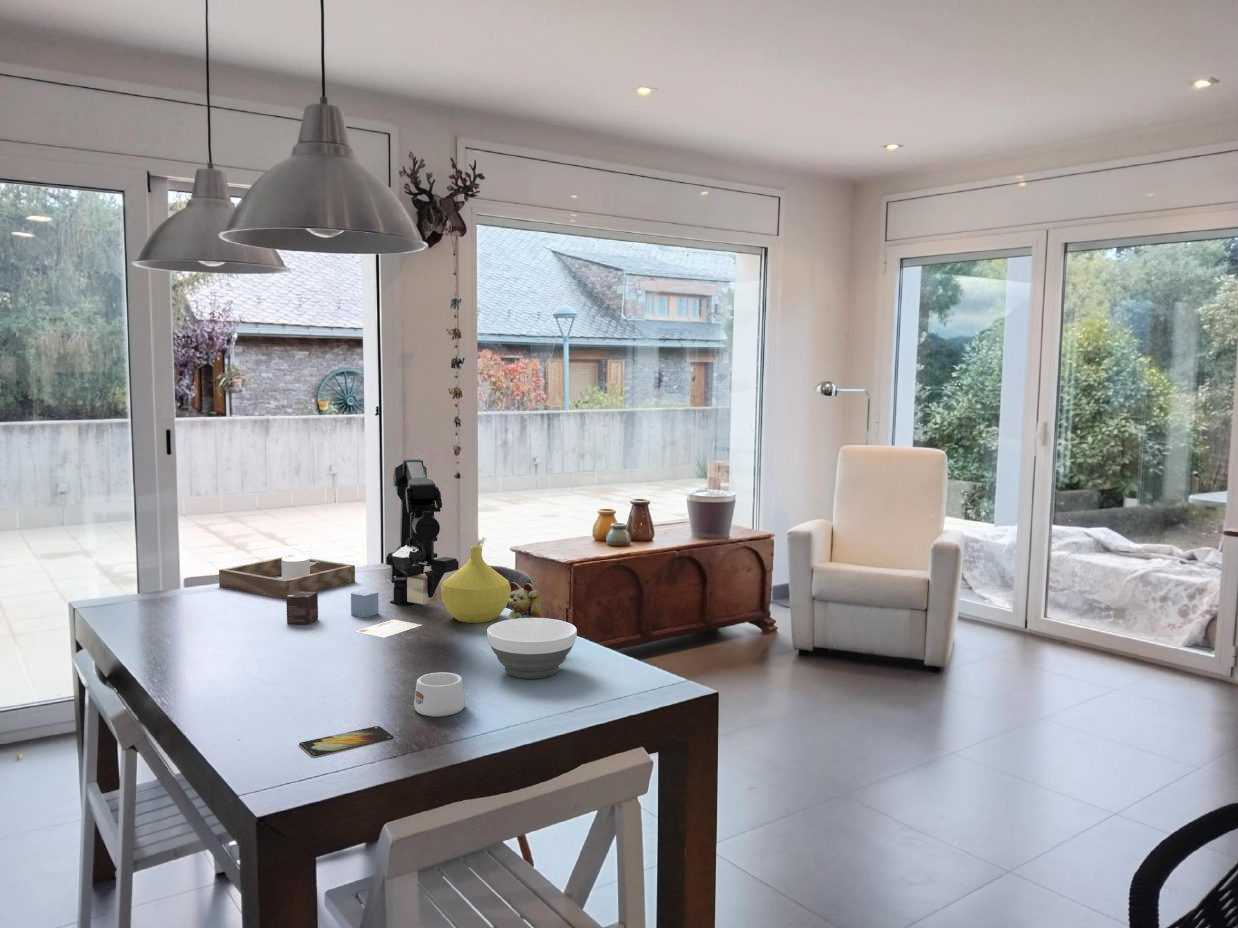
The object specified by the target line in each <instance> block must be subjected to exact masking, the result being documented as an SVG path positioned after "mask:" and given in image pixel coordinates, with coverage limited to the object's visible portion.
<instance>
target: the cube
mask: <svg viewBox="0 0 1238 928" xmlns="http://www.w3.org/2000/svg"><path fill="white" fill-rule="evenodd" d="M379 612H380V611H379V591H372V590H368V589H363V590H359V591H356V592H351V593H350V615H351V616H354V617H361V618H368V617H371V616H375V615H378V614H379Z"/></svg>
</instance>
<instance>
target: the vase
mask: <svg viewBox="0 0 1238 928" xmlns="http://www.w3.org/2000/svg"><path fill="white" fill-rule="evenodd" d="M482 552H483V549H482V546H479V545H477V546H475V545H474V546H470V555H469V556H470V557H469V560H467V562H466V563H465V564H464V565H463V566H462V567H461V568H459V570H456V571H455V572H454V573H453V574H451V575H450V576H449V577H447V578H446V579H444V581H442V583H441V586H440V596H441V600H442V602H443V605H444V608H445V610H446V611H448V613H449V615H450V616H451V617H453V618H454V619H456V620H457V621H459V622H462V623H466V624H467V623H468V624H480V623H481V624H482V623H488V622H492V621H494V620H496V619H497V618H498V617H499V616H500V615H501V614H502V613H503V612H504V610H505V609H506V607H507V606H508V604H509V602H508V599H509V596H510V594H511V592H512V590H511V587H510V581H509V580H508V579H507V578H506V577H504V576H503V575H501V573H499V572H497V571H496V570H495V569H494V568H492V567H491V566H490V565H489V564H487V563H486V562H485V560H484V559H483V554H482Z"/></svg>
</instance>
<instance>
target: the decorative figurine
mask: <svg viewBox="0 0 1238 928" xmlns="http://www.w3.org/2000/svg"><path fill="white" fill-rule="evenodd" d="M509 584H510V587H511V594H510V596H509V599H508V605H509V606H510V607H511V608H512V610H511V611H510V612H509V613H508V614H507V618H506V620H511V619H519V618H543V612H542V608H541V600H540V599H541V597H540V592H539V591H537V590H535V589H534V586H533V584H532V583H525V584H524V585H523V587H521V586H520V584H518V583H517V582H515V581H512V582H509Z"/></svg>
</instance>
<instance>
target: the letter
mask: <svg viewBox="0 0 1238 928" xmlns="http://www.w3.org/2000/svg"><path fill="white" fill-rule="evenodd" d="M421 626H423V624H420V623H414V622H410V621H409V622H408V621H403V620H399V619H390V620H387V621H383V622H381V623H377V624H374V625H370V626H367V627H364V628H361V629H358V630H355V631H353V632H354V633H359V634H363V635H368V636H373V637H378V638H383V639H385V638H388V637H390V636H394V635H397V634H400V633H404V632H406V631H410V630H412V629H414V628H415V629H416V628H418V627H421Z"/></svg>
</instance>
